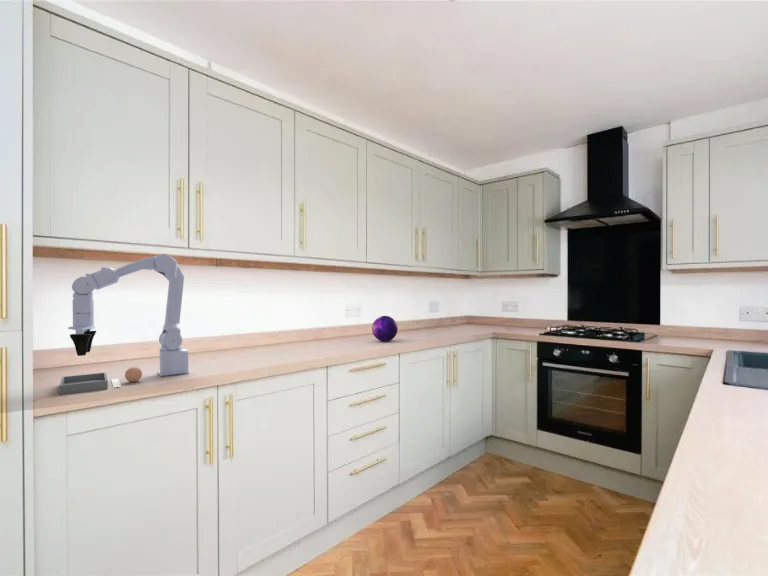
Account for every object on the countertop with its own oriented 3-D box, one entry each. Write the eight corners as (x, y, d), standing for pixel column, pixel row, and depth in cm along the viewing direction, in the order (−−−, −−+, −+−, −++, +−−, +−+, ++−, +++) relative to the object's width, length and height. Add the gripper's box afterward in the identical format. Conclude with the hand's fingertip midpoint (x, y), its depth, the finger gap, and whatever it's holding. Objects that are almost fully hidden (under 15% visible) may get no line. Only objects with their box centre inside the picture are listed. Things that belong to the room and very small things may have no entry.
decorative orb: (371, 340, 251) (371, 315, 252) (396, 339, 252) (396, 314, 252) (372, 343, 237) (372, 316, 237) (398, 342, 237) (398, 316, 237)
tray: (106, 379, 144) (105, 372, 144) (107, 388, 131) (107, 380, 131) (62, 384, 137) (62, 376, 137) (59, 394, 124) (59, 385, 124)
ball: (141, 379, 144) (141, 365, 144) (142, 382, 140) (142, 367, 140) (124, 381, 142) (124, 366, 142) (125, 384, 138) (125, 369, 138)
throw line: (118, 378, 146) (118, 378, 146) (120, 387, 133) (120, 387, 133) (111, 379, 145) (111, 379, 145) (113, 388, 132) (113, 388, 132)
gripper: (73, 312, 144) (73, 352, 144) (63, 314, 131) (64, 358, 131) (97, 311, 147) (98, 350, 147) (90, 313, 134) (91, 356, 134)
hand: (83, 353), depth 139 cm, fingers open, 7 cm apart
